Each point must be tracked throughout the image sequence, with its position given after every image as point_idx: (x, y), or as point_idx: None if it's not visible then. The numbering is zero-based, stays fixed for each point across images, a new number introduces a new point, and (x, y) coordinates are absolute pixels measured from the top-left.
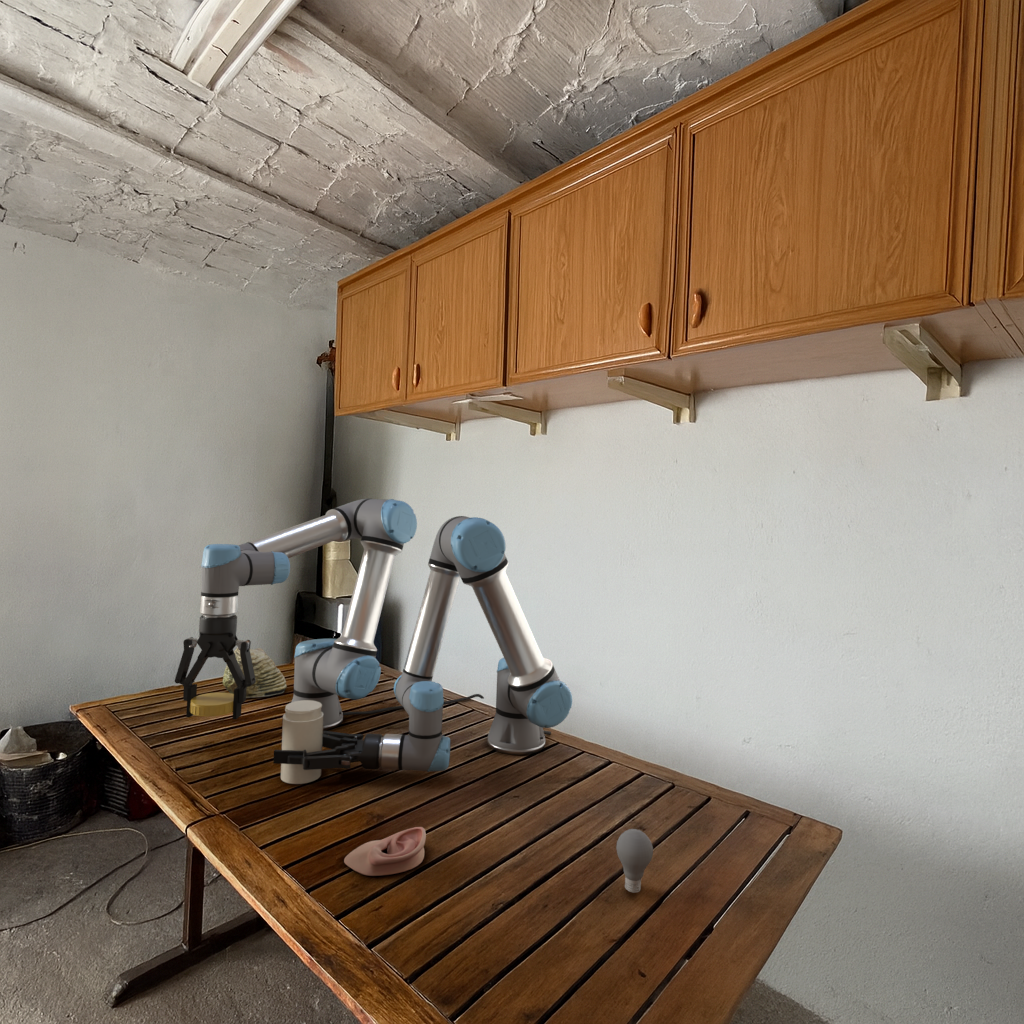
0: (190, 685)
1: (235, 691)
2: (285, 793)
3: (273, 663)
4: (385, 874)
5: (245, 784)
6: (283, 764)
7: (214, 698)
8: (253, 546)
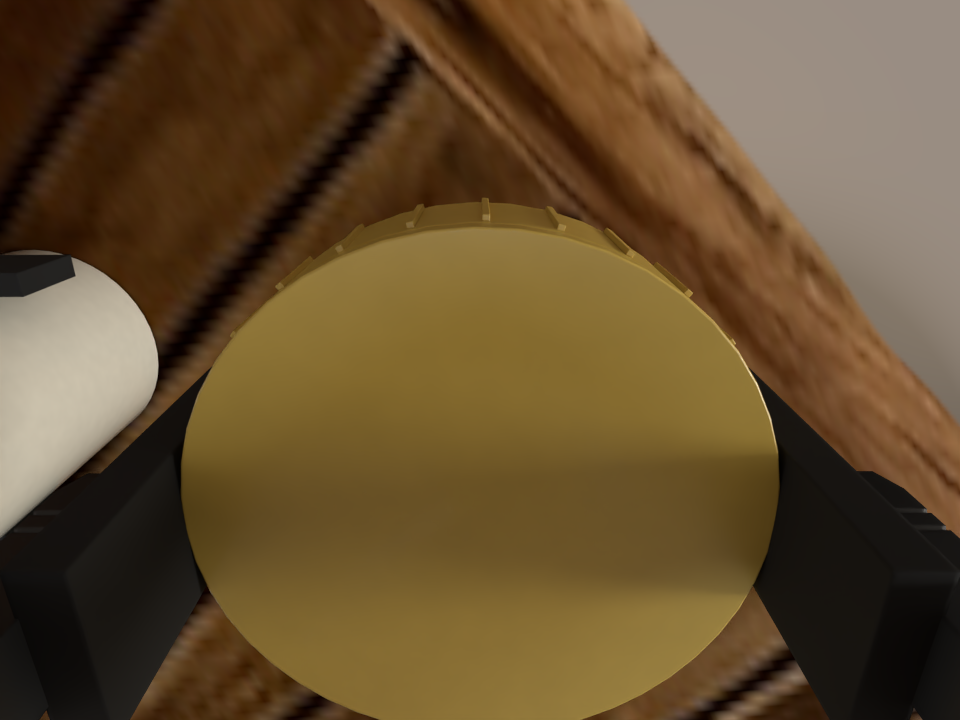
0: (936, 656)
1: (57, 550)
2: (19, 138)
3: None
4: None
5: (281, 228)
6: (56, 302)
7: (485, 531)
8: None
